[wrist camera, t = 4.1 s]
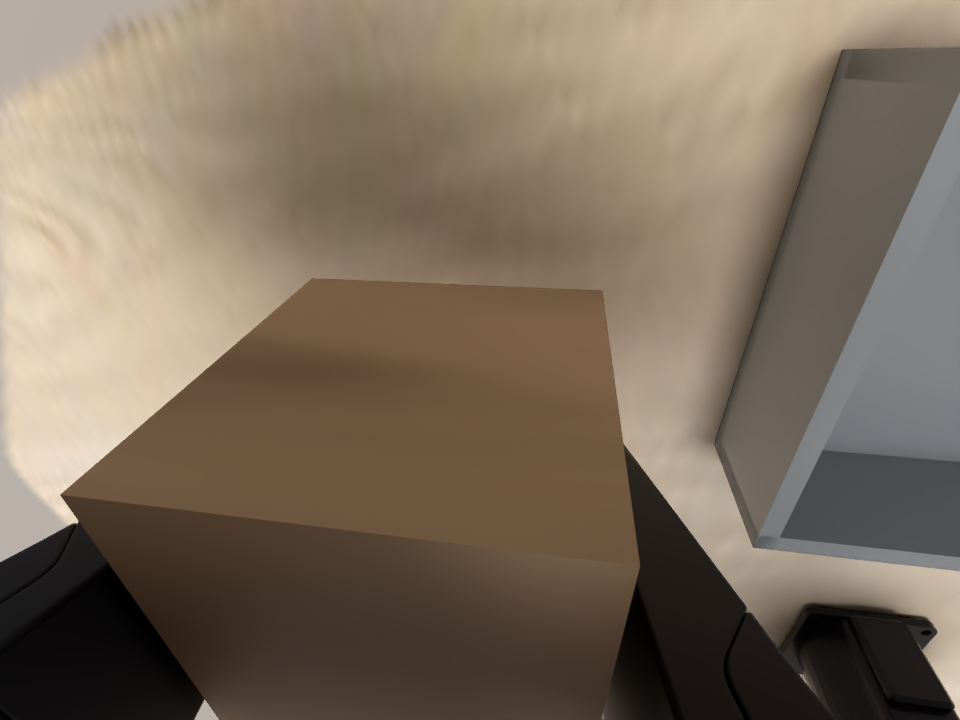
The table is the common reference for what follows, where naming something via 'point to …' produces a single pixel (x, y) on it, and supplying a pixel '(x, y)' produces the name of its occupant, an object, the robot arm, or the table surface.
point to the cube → (386, 509)
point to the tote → (861, 330)
